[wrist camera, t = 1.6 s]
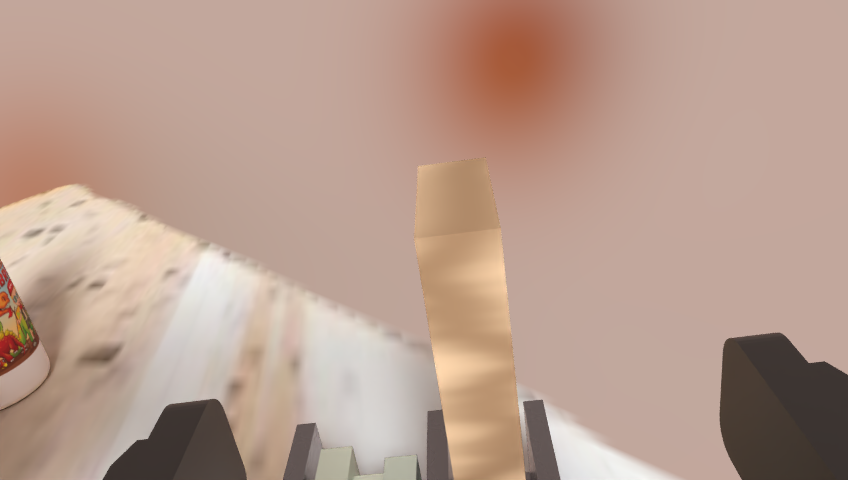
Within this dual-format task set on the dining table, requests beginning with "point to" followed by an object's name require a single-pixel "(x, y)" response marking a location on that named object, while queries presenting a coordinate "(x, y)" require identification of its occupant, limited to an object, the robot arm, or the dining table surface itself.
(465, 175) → the oak block
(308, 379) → the dining table surface
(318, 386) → the dining table surface
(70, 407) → the dining table surface
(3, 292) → the milk bottle
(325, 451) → the pale green grooved block
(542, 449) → the sheet rack
